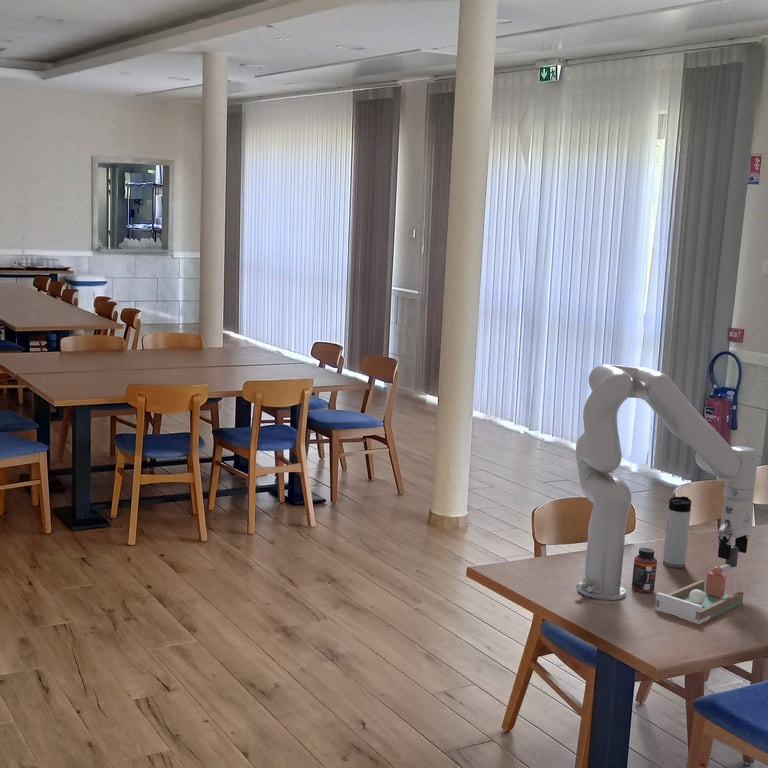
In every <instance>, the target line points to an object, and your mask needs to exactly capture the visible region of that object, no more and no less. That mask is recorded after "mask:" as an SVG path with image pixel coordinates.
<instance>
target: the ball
mask: <svg viewBox="0 0 768 768" xmlns="http://www.w3.org/2000/svg"><path fill="white" fill-rule="evenodd" d="M689 600H690V602H691V603H695V604H698V605H701V604H702V603H703V602H704V601H705V595H704V593H703V592H702V591H701V590H699V589H695V590H692V591H691V592H690V594H689Z"/></svg>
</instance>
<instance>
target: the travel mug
mask: <svg viewBox="0 0 768 768" xmlns="http://www.w3.org/2000/svg"><path fill="white" fill-rule="evenodd" d="M691 508H692V500H691V499H690V498H689V496H688V497H687V496H684V495H682V496H675V497H674V496H673V497H670V498H669V501H668V508H667V516H666V517H667V519H666V528H665V538H664V547H663V558H662V559H663V560H662V564H663V565H664V566H666V567H668V566H669V567H668V568H675V569H681V568H682V567H683V568H684V567H685V566H686V560H687V550H688V543H689V542H688V539H689V532H690V531H689V530H690V523H691V522H690V520H691V511H692V510H691ZM683 568H682V569H683Z"/></svg>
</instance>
